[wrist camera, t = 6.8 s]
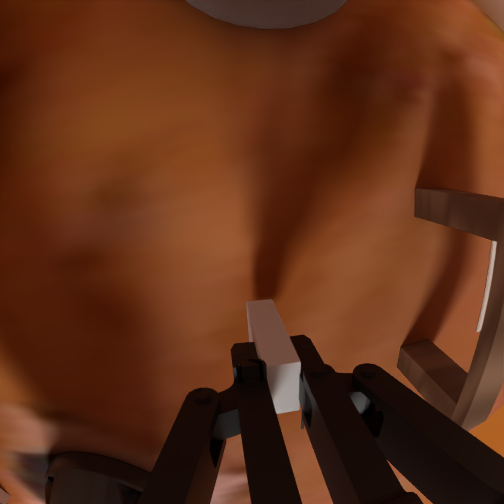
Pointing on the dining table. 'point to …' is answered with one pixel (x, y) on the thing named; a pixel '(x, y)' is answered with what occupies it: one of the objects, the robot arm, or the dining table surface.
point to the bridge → (494, 324)
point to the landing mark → (487, 285)
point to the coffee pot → (268, 11)
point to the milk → (4, 497)
